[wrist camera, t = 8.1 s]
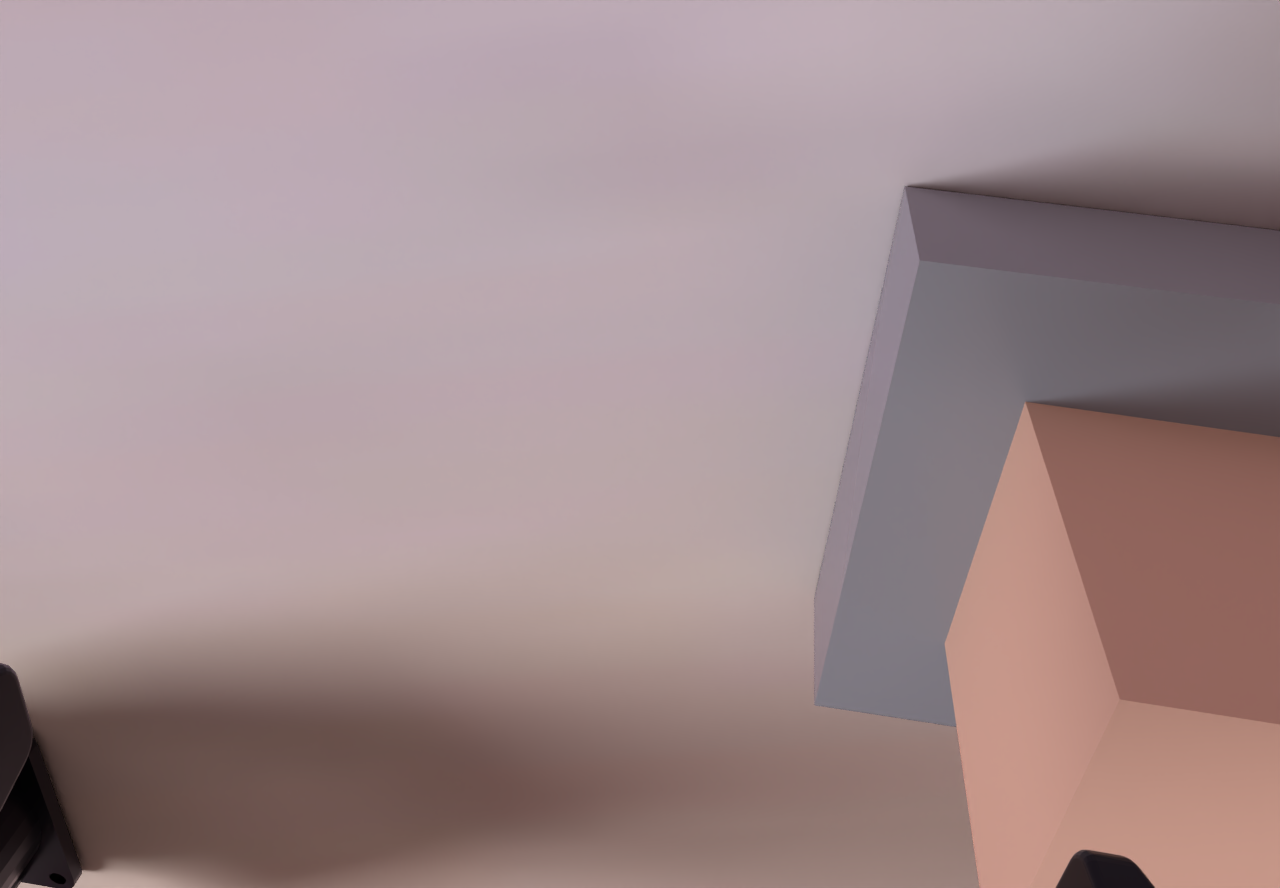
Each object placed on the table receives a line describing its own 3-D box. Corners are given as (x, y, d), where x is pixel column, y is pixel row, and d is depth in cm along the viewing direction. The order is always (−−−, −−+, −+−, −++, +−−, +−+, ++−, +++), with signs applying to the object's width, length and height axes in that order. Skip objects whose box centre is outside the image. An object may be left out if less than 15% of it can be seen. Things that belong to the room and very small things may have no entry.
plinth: (1255, 662, 22) (1311, 781, 19) (813, 598, 23) (814, 705, 20) (1480, 254, 17) (1595, 343, 14) (904, 186, 18) (919, 259, 15)
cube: (1236, 689, 19) (1391, 1037, 14) (944, 644, 19) (991, 967, 14) (1370, 449, 16) (1627, 778, 11) (1025, 401, 16) (1120, 699, 11)
